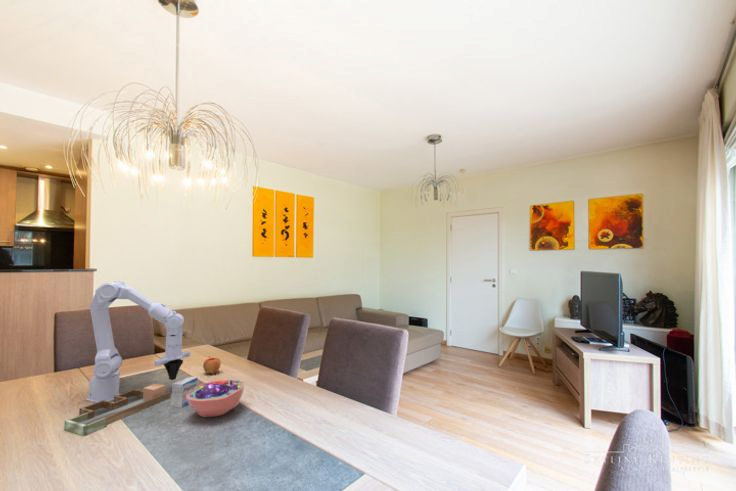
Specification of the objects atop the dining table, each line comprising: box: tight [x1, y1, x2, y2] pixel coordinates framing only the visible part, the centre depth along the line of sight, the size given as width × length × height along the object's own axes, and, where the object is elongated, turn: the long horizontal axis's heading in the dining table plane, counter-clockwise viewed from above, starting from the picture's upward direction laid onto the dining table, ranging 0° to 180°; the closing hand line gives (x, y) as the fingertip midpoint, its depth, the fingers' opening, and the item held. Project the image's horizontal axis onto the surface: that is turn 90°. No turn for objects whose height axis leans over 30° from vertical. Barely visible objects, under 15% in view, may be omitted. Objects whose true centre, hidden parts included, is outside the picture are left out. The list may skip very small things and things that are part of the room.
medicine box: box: [171, 376, 199, 408], centre depth 123 cm, size 8×4×9 cm, turn 168°
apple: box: [202, 355, 221, 375], centre depth 156 cm, size 7×7×8 cm
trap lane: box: [63, 388, 172, 437], centre depth 116 cm, size 15×29×3 cm, turn 160°
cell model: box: [186, 379, 245, 418], centre depth 117 cm, size 17×20×11 cm
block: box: [142, 383, 166, 401], centre depth 126 cm, size 5×5×4 cm
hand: (172, 379), depth 133 cm, fingers closed
